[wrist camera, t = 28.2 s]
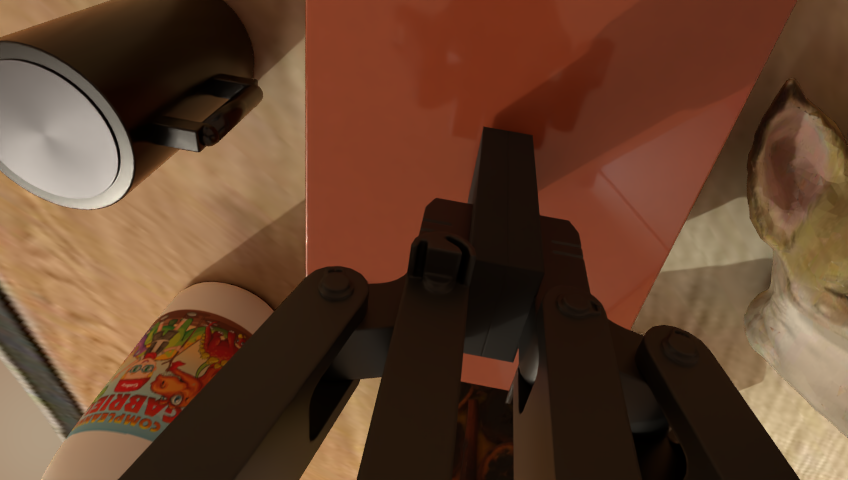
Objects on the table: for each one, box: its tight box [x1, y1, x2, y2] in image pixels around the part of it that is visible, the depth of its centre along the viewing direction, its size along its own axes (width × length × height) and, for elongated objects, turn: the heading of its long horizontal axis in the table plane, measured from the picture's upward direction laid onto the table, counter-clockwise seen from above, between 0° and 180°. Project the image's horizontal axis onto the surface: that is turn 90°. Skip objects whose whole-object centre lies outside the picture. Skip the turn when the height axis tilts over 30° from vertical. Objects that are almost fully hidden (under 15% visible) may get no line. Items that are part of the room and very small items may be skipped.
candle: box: [452, 382, 514, 480], centre depth 32 cm, size 10×10×10 cm
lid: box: [305, 0, 797, 391], centre depth 16 cm, size 22×13×1 cm, turn 173°
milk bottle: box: [41, 282, 274, 480], centre depth 26 cm, size 8×8×20 cm
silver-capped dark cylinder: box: [0, 0, 263, 210], centre depth 20 cm, size 8×6×10 cm
